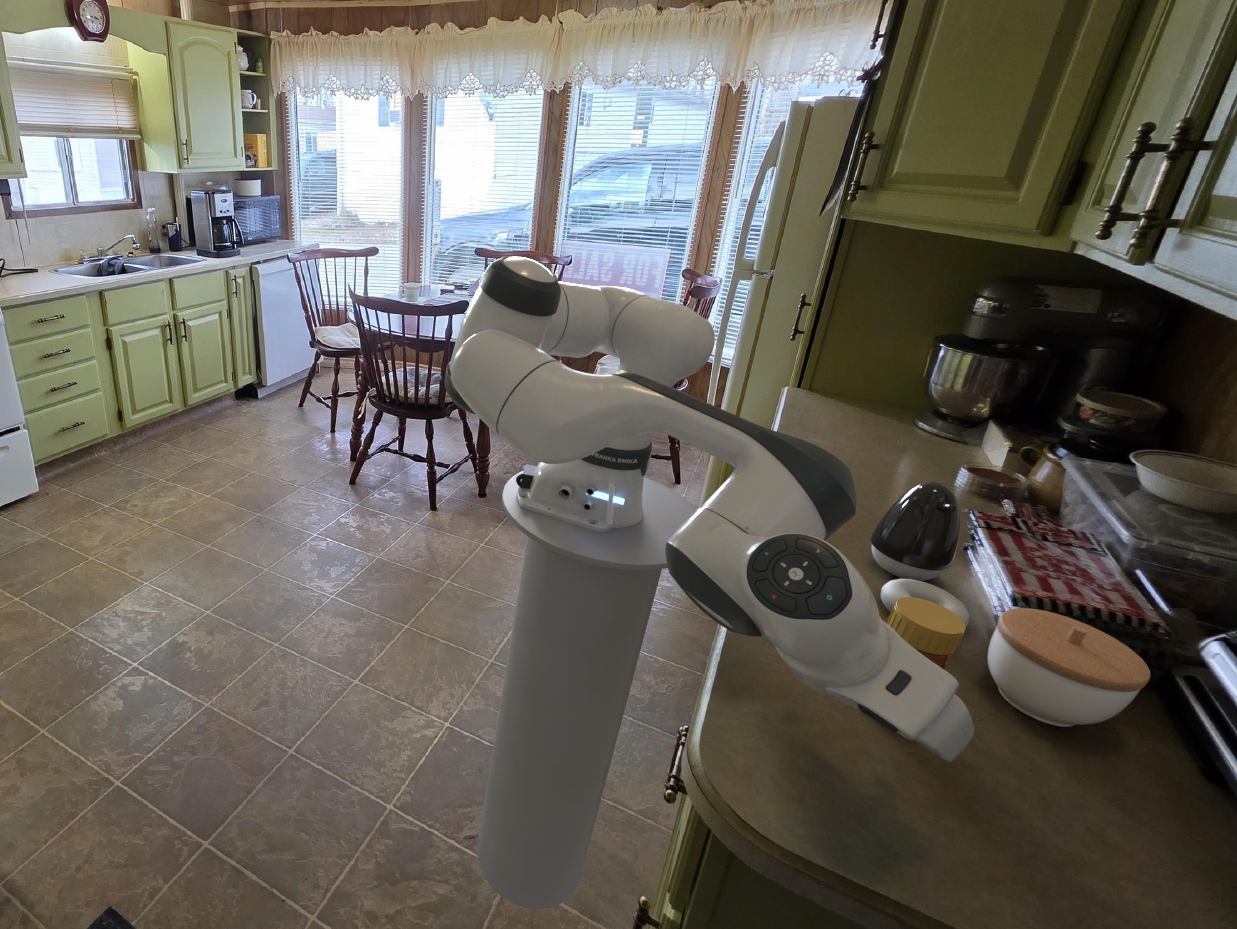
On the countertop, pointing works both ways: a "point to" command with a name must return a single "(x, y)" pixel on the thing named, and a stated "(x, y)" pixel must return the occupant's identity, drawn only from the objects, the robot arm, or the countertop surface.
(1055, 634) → the lidded bowl
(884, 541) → the glossy black oval piece
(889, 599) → the donut
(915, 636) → the lid
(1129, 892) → the countertop surface
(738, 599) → the robot arm
